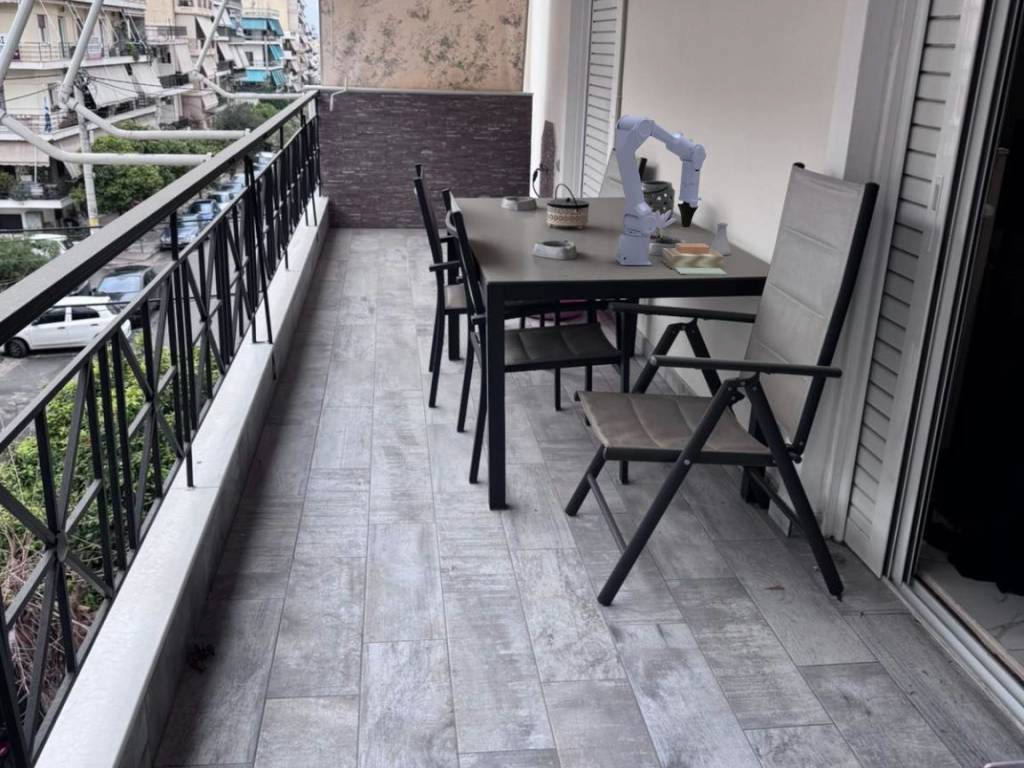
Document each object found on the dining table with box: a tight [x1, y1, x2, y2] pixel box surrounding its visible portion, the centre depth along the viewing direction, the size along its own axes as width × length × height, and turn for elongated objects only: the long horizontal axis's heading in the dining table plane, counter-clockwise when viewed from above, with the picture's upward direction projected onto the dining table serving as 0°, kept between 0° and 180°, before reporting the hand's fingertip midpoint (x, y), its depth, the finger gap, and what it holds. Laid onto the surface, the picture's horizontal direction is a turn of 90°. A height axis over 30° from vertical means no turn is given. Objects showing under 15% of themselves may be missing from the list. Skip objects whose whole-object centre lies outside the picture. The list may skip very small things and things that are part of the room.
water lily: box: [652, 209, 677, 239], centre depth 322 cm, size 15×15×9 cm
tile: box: [675, 242, 710, 254], centre depth 282 cm, size 9×6×2 cm, turn 94°
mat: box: [673, 267, 728, 276], centre depth 274 cm, size 14×8×1 cm, turn 94°
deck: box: [661, 247, 725, 271], centre depth 282 cm, size 16×12×4 cm
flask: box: [709, 222, 732, 256], centre depth 299 cm, size 7×7×10 cm
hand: (685, 226), depth 290 cm, fingers closed
